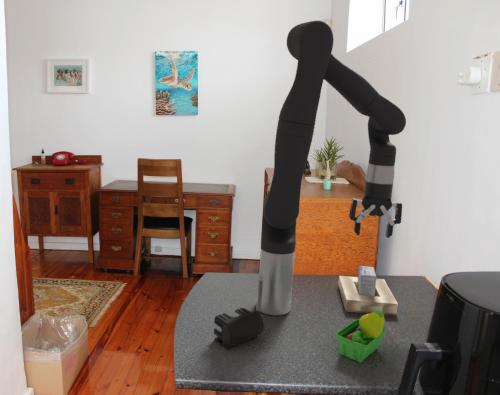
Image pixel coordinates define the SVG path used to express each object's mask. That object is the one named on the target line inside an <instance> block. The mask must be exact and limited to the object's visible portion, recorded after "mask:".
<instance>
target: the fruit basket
mask: <svg viewBox="0 0 500 395" xmlns="http://www.w3.org/2000/svg"><path fill="white" fill-rule="evenodd" d="M385 321H386V320H385V315H384V314H383V312H381V311H379V310H375V311H373V313H365V314H364V315H362V316H361V317H359V318H357V319H355V320H354V321H352V322H351V323H349V324H348V325H346V326H345V327H343V328H342V329H341V330H339V331H337V332H336V334H335V335H336V339H337V342H338V347H339V348H338V349H339V353H340V355H341V356H345V357H347V358H348V359H351V360H354V361H356V362H358V363H363V361H364V360H365V359H366V358H368V357H369V356H370V355H371V354H372V353H373V352H374V351H376V350H377V349H378V348H379V345H380V343H381V341H382V338H383V336H384V335H385V333H386V331H387V330H386V328H384V327H385V326H384V325H385Z"/></svg>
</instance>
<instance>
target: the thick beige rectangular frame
mask: <svg viewBox="0 0 500 395" xmlns="http://www.w3.org/2000/svg"><path fill="white" fill-rule="evenodd" d="M357 283H358V276H348V275H347V276H346V275H338V284H337V287H338V291H339V293H340V295H339V296H340V297H341V301H342V304H343V307H344V311H345V312H348V313H349V312H350V313H360V314H361V313H362V314H370V313H373V311H375V310H379V311H381V312H383V314H384V316H392V317H393V316H394V317H395V316H396V317H397V313H398V308H399V304H398V301H397V299H396V297H395V296H394V294H393V292H392V291H391V289H390V288H389V286H388V284H387V282H386V279H384V278H376V287H375V296H365V295H359V294H358V291H357Z"/></svg>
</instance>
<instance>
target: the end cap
mask: <svg viewBox="0 0 500 395" xmlns="http://www.w3.org/2000/svg"><path fill="white" fill-rule="evenodd" d="M234 313H236V314H238V316H231V315H229V314H227V313H226V312H225V313H222V314H218V315H216V316H214V321H213V322H214V325H216V326H218V327H219V328H220V329H218V328H216V327H214V329H213V335H215V337H214V341H215V342H216V343H217V344H219V345H220V346H221V347H223V348H225V349H227V348H229V347H232V346H235V345H237V344H240V343H243V342H246V341H248V340H252V339H254V338H257V337H259V336H261V335H262V334H263V332H264V330H265V324H264V318H263V316H262V315H261V313H260V312H259V311H256V310H254V311H250V310H248V309H246V308H245V307H240V308H238V309H235V310H234Z"/></svg>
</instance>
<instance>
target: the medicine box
mask: <svg viewBox="0 0 500 395" xmlns="http://www.w3.org/2000/svg"><path fill="white" fill-rule="evenodd" d="M357 274H358V276H357V277H358V283H357V291H358V294H359V295H365V296H375V287H376V279H377V274H376V270H375V268H374V267H373V266H367V265H366V266H364V265H363V266H362V265H361V266H360V265H359V267H358V273H357Z"/></svg>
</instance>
